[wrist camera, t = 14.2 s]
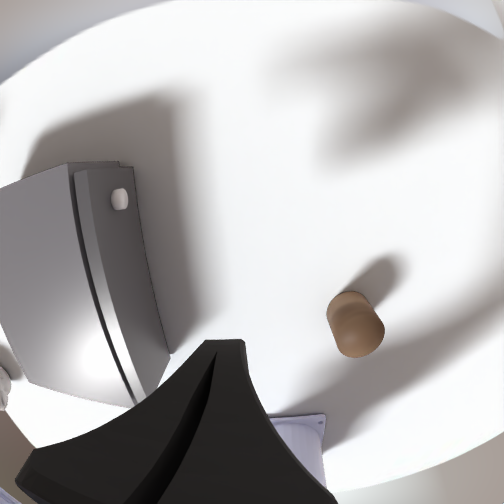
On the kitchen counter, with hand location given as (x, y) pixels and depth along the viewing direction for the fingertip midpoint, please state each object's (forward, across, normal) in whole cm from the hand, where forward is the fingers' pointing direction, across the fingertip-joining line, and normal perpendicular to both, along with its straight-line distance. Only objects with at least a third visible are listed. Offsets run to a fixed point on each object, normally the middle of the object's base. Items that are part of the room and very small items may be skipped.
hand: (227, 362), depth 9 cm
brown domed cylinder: (+10, -7, +4) cm, 13 cm away
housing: (+10, +14, 0) cm, 17 cm away
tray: (+10, +12, 0) cm, 16 cm away
